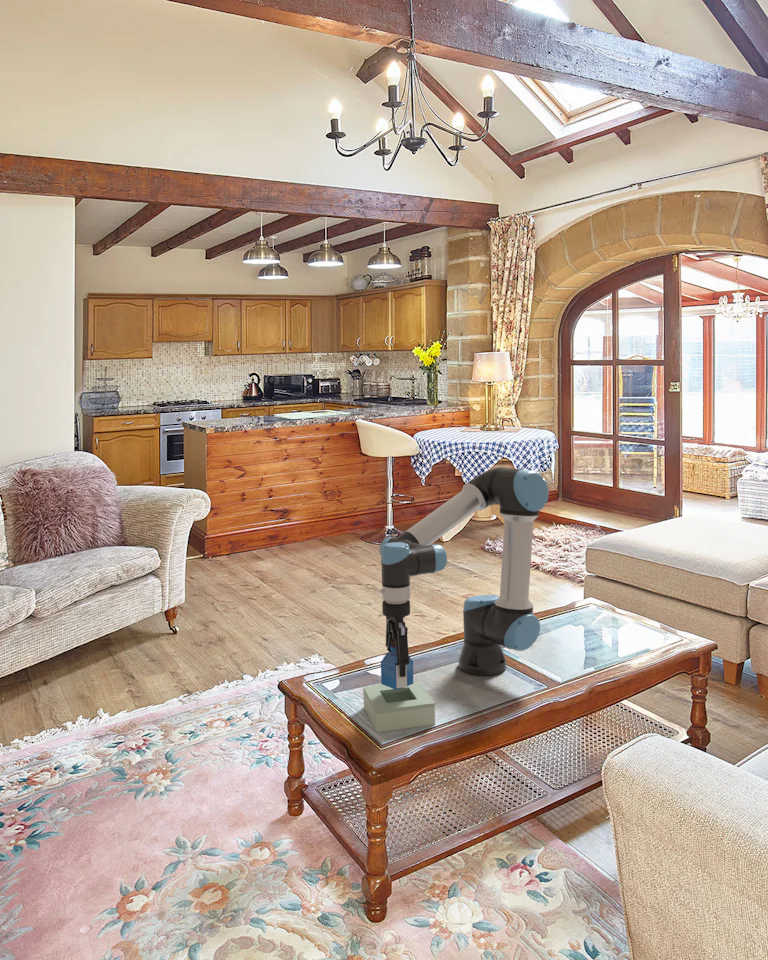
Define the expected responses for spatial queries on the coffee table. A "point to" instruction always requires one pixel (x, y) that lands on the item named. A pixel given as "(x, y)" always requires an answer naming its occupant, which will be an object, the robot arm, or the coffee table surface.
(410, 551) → the robot arm
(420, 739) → the coffee table surface
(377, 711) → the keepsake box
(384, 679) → the perfume bottle
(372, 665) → the coffee table surface
